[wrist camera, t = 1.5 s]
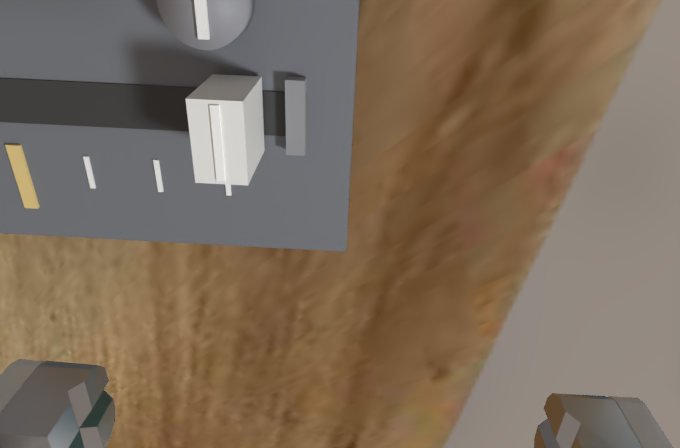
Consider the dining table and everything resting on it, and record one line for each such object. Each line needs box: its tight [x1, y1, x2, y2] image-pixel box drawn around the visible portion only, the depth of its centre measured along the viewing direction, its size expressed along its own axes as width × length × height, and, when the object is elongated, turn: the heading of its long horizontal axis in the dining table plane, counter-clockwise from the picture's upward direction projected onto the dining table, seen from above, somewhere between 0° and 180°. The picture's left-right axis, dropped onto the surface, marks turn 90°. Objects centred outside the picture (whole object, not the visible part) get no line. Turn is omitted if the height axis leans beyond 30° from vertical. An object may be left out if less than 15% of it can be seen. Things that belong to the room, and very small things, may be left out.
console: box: [0, 0, 359, 252], centre depth 27 cm, size 17×26×5 cm, turn 88°
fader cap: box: [185, 74, 265, 186], centre depth 24 cm, size 4×2×5 cm, turn 178°
